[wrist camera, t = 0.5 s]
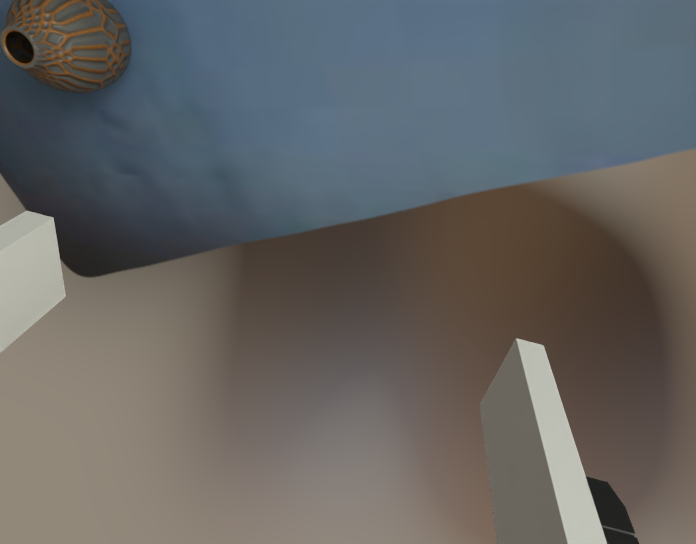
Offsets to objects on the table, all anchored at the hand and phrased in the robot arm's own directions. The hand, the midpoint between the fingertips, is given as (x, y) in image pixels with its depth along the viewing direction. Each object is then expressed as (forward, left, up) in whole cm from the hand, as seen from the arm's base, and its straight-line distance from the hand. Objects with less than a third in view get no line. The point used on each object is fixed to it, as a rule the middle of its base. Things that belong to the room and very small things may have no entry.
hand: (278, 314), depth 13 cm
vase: (0, -21, -27) cm, 34 cm away
